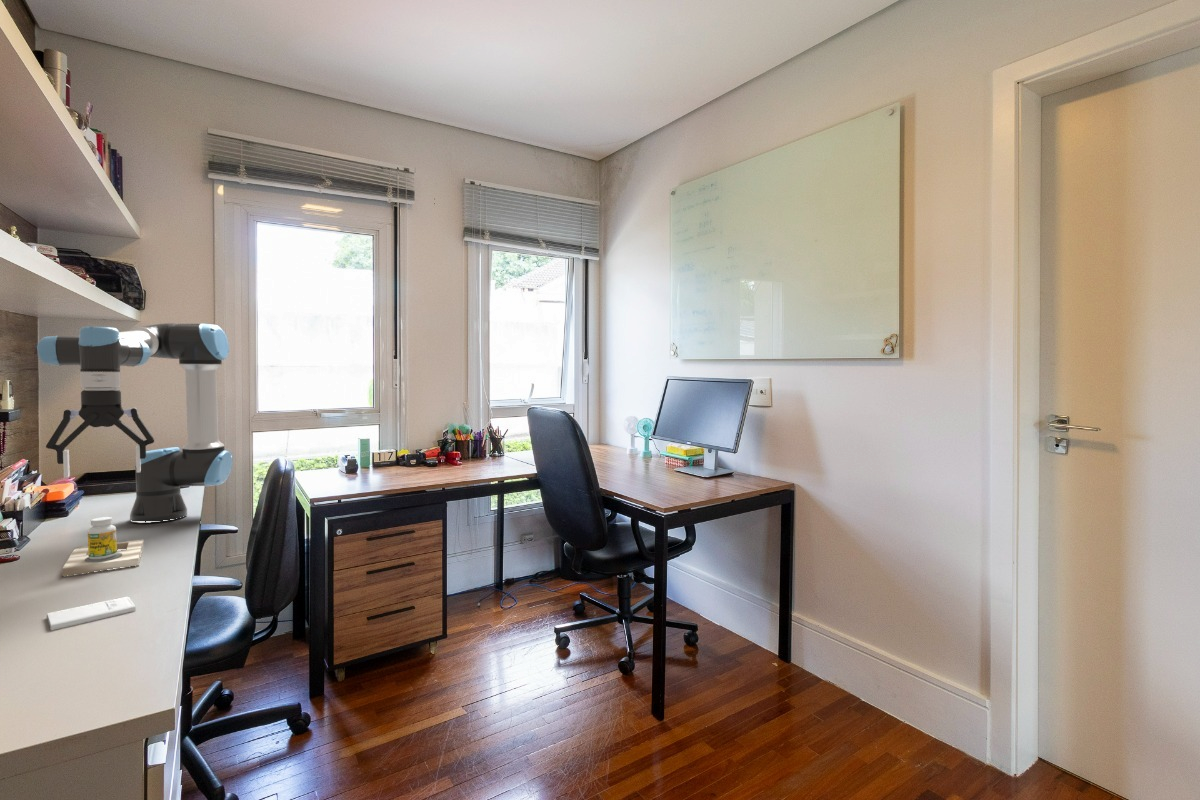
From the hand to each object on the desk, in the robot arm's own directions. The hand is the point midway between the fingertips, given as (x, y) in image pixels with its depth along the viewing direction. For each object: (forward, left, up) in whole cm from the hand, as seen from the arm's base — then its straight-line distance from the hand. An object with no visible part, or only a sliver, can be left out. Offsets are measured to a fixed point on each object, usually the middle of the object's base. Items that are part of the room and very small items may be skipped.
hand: (103, 474), depth 143 cm
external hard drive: (+38, +1, -24) cm, 45 cm away
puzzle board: (-4, 0, -23) cm, 23 cm away
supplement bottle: (+1, -1, -21) cm, 21 cm away
